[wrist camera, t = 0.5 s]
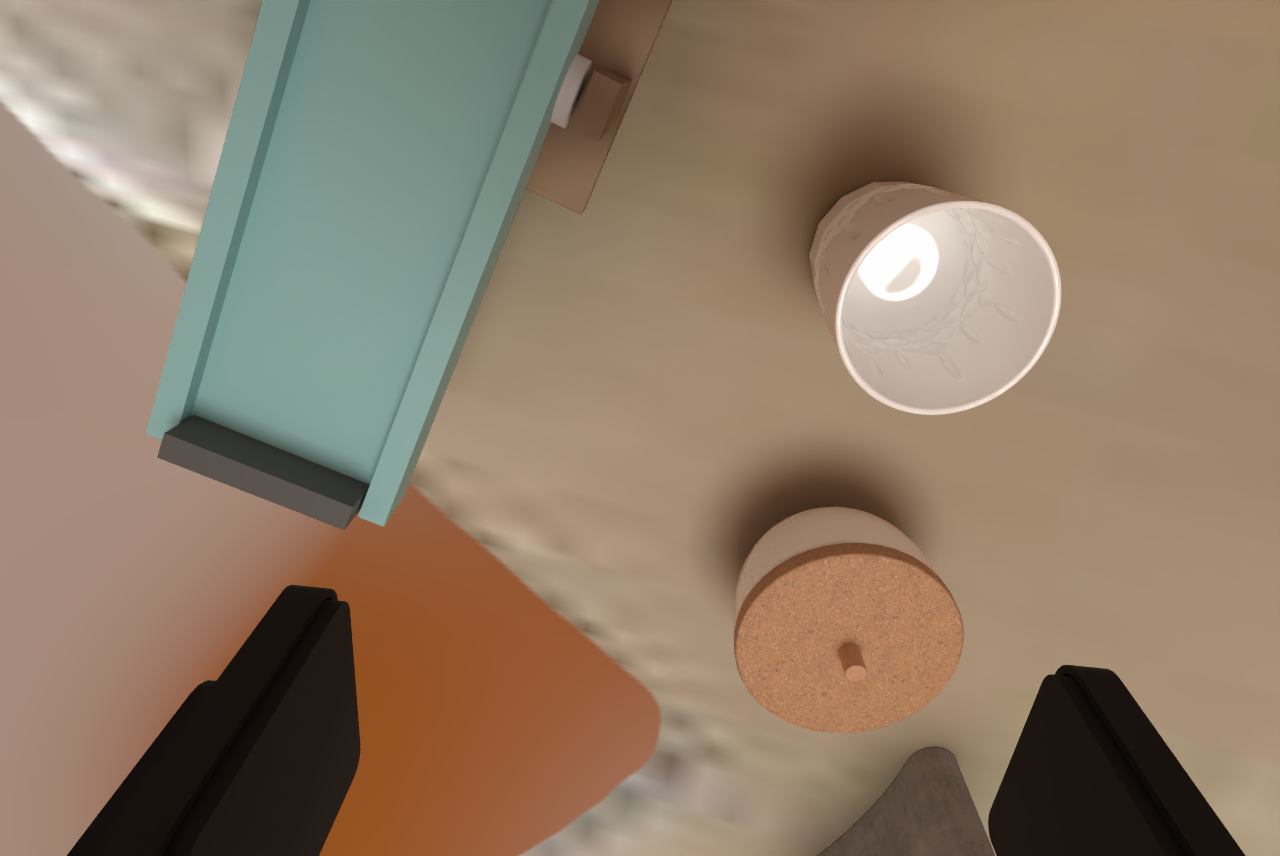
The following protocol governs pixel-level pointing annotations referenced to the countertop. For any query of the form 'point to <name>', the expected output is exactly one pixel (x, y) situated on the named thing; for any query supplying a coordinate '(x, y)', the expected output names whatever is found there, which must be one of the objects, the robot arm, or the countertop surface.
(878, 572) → the lidded jar
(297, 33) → the beam
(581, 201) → the stand
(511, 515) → the countertop surface
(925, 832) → the hip flask
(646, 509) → the countertop surface
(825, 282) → the white cup
